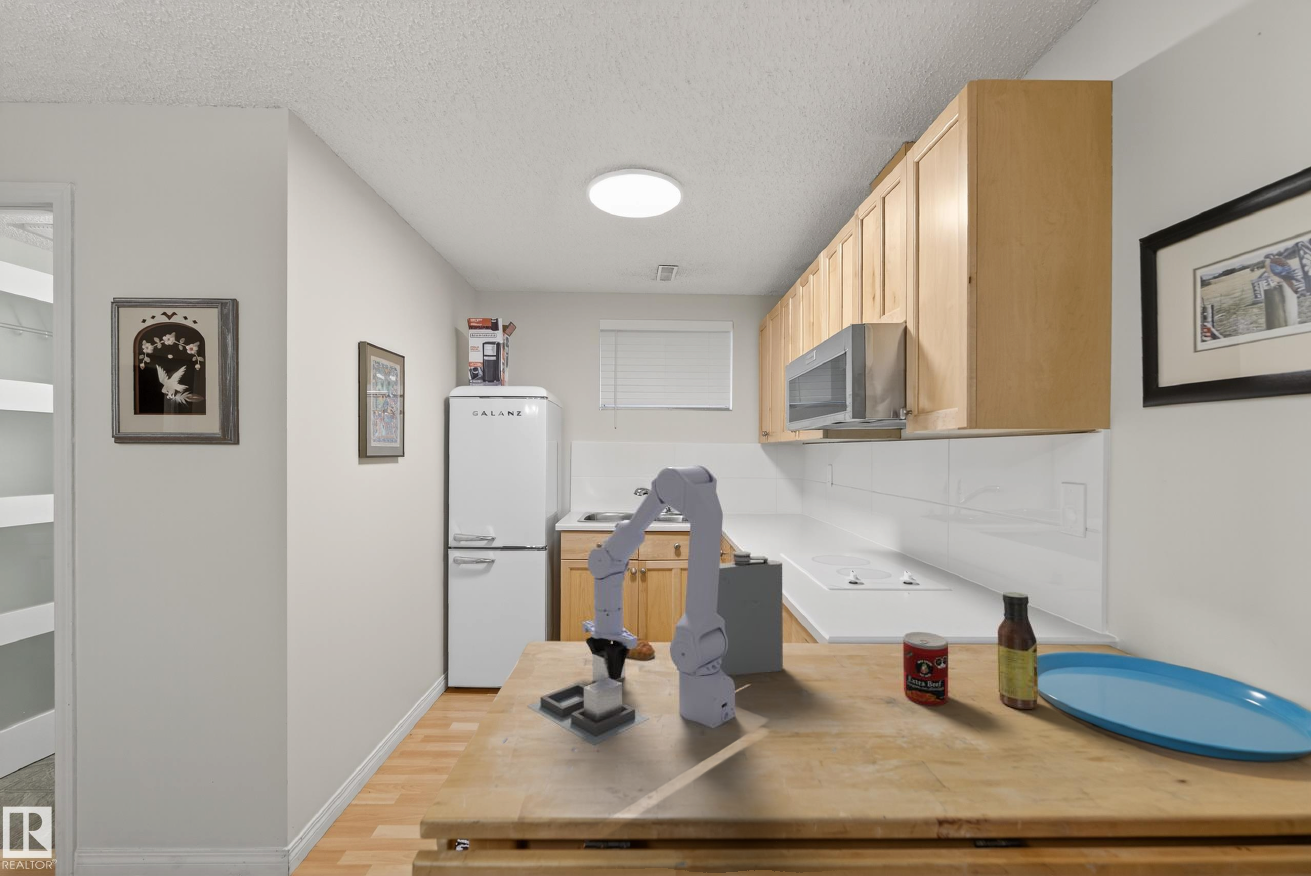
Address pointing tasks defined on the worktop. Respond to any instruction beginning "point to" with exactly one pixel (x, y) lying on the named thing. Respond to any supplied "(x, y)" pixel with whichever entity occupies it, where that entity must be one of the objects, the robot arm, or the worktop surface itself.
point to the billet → (602, 700)
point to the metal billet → (603, 667)
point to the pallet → (570, 715)
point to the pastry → (641, 650)
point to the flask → (751, 614)
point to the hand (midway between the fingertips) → (609, 675)
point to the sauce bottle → (1017, 654)
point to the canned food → (925, 668)
